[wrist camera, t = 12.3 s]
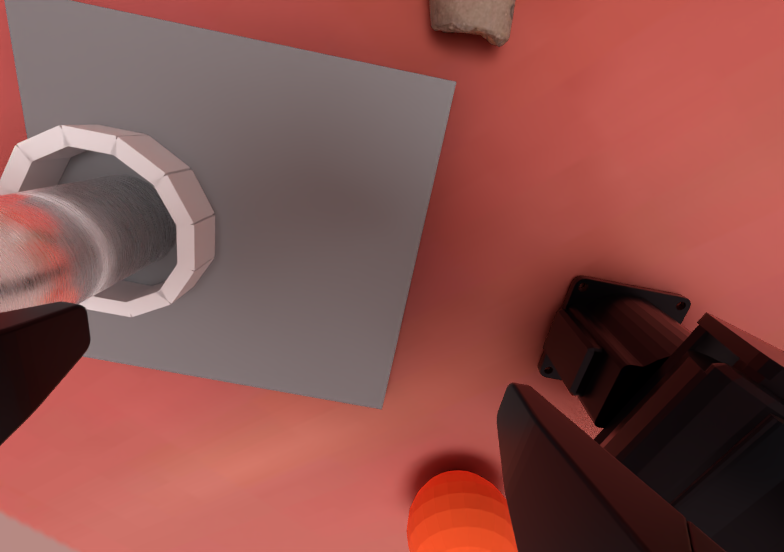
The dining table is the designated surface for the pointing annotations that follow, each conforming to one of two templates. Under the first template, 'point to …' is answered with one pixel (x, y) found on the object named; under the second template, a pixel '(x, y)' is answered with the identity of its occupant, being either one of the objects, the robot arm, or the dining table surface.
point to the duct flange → (238, 192)
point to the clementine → (460, 516)
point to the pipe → (474, 18)
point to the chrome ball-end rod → (78, 239)
